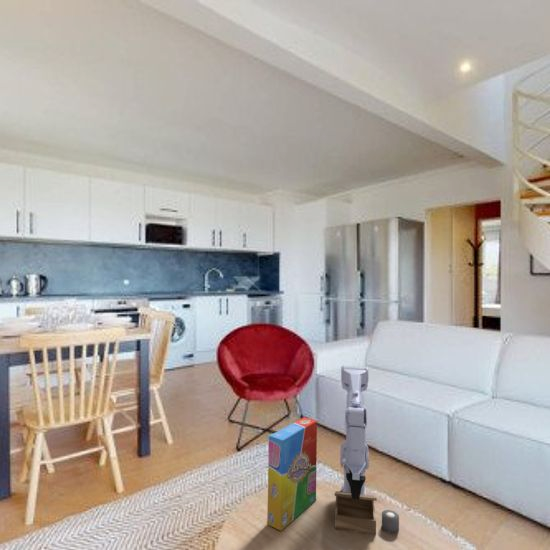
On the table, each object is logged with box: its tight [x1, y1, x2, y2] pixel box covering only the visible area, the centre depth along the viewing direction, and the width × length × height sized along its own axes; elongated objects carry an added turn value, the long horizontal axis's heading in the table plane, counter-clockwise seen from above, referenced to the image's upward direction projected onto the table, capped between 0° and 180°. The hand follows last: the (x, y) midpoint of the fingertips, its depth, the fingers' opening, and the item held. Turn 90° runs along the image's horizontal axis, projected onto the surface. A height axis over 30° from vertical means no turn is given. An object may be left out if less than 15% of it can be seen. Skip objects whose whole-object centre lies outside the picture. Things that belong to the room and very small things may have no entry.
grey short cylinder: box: [381, 509, 400, 535], centre depth 113 cm, size 5×5×4 cm
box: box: [334, 496, 377, 535], centre depth 117 cm, size 12×12×4 cm
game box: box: [266, 417, 318, 531], centre depth 121 cm, size 21×6×27 cm, turn 143°
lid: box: [334, 490, 377, 502], centre depth 118 cm, size 12×12×1 cm
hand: (355, 491), depth 114 cm, fingers open, 7 cm apart
